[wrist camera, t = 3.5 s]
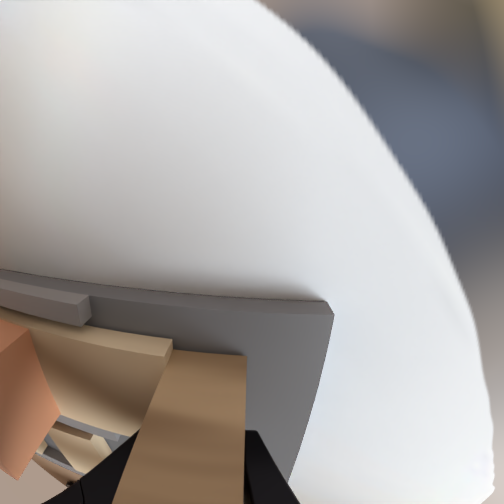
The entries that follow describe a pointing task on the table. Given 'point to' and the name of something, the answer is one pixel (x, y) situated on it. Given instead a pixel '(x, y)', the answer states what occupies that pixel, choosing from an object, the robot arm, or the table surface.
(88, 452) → the pair of tan slabs
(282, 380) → the lane bed
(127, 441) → the robot arm
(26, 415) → the cube
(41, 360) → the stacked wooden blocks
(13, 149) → the table surface
